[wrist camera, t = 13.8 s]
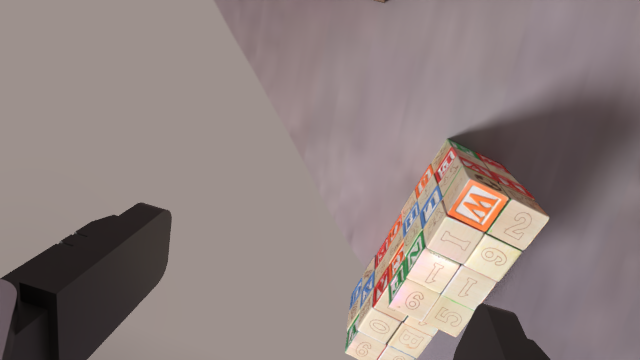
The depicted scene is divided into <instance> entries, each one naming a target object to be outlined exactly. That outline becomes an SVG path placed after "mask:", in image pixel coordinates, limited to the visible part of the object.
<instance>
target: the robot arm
mask: <svg viewBox="0 0 640 360" xmlns="http://www.w3.org/2000/svg"><path fill="white" fill-rule="evenodd" d="M171 218H172V217H171V213H170V211H168V210H165V209H162V208H158V207H155V206H152V205H148V204H145V203H138V204H136V205H134V206H133V207H132V208H130V209H128V210H127V211H125V212H124V213H122V214H121V215H119V216H116V215H112V216H108V217H105V218H102V219H99V220H95V221H92V222H90V223H89V224H87V225H86V226H84V227H82V228H81V229H79V230H77V231H76V232H75V233H74V235H70V236H68V237H66V238H65V239H63V240H61V241H60V243H59V244H55V245H53V246H52V247H50V248H49V249H47V250H45V251H44V252H42V253H41V254H39V255H37V256H36V257H34V258H33V259H31V260H29V261H28V262H26V263H25V264H23V265H21V266H20V267H18V268H17V269H15V270H13V271H12V272H10V273H9V274H7V275H5V276H4V277H2V278H0V360H87V359H88V358H89V357H90V356H91V355H92V354H93V352H94V351H95V350H96V349H97V348H98V347H99V346H100V345H101V344H102V343H103V342H104V340H106V339H107V337H108V336H109V335H110V334H111V333H112V332H113V331H114V330H115V329H116V328H117V327H118V326H119V325H120V324H121V322H123V320H124V319H125V318H126V317H127V316H128V315H129V314H130V313H131V312H132V311H133V310H134V309H135V308H136V307H137V305H138V304H139V303H140V302H141V301H142V300H143V299H144V298H145V297H146V296H147V295H148V294H149V293H150V291H151V290H152V289H153V288H154V287H155V286H156V285H157V284H158V283H159V281H160V279H161V278H162V276H163V274H164V272H165V269H166V266H167V262H168V252H169V242H170V231H171ZM453 360H550V359H549V357H548V356H547V355H546V354H545V353H544V352H543V351H542V350H541V348H540V347H539V346H538V345H537V344H536V343H535V342H534V341H533V340H530V339H527V337H526V335H525V333H524V331H523V329H522V326H521V324H520V322H519V320H518V318H517V316H516V314H515V313H513V312H510V311H507V310H504V309H500V308H497V307H493V306H490V305H486V304H483V303H481V304H479V305H478V306H477V307H476V309H475V311H474V313H473V315H472V317H471V319H470V321H469V323H468V325H467V327H466V329H465V332H464V334H463V336H462V338H461V340H460V342H459V344H458V346H457V348H456V351H455V354H454V358H453Z"/></svg>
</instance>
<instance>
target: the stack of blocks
mask: <svg viewBox="0 0 640 360" xmlns="http://www.w3.org/2000/svg"><path fill="white" fill-rule="evenodd" d="M548 220H549V216H548V215H547V214H546V213H545V212H544V211H543V210H542V208H541V207H540V206H539V205H538V204H537V203H536V202H535V198H534V197H533V196H532V195H531V194H530V193H529V192H528V191H527V189H525V188H524V187H523V186H522V185H521V184H520V183H519V182H518V181H517V180H516V179H515V178H514V177H513V176H512V175H511V174H510V173H509V172H508V170H507V169H506V168H505V167H504V166H503V165H501V164H499V163H497V162H495V161H493V160H491V159H489V158H487V157H485V156H483V155H481V154H479V153H476V152H473V151H471V150H469V149H467V148H465V147H463V146H461V145H459V144H457V143H455V142H453V141H451V140H449V139H446V141H445V142H444V144H443V146H442V147H441V149H440V151H439V152H438V154H437V155H436V157H435V159H434V160H433V162H432V163H431V164H430V165H429V167H428V168H427V170H426V172H425V173H424V175H423V177H422V178H421V180H420V181H419V183H418V185H417V186H416V188H415V190H414V191H413V193H412V194H411V196H410V197H409V199H408V201H407V202H406V204H405V206H404V207H403V209H402V211H401V215H400V216H399V218H398V219H397V221H396V223H395V224H394V226H393V228H392V229H391V231H390V232H389V235H388V237H387V238H386V240H385V242H384V243H383V245H382V247H381V248H380V250H379V252H378V253H377V255H376V256H374V258H373V259H372V261H371V263H370V264H369V266H368V268H367V269H366V271H365V272H364V274H363V277H362V278H361V280H360V281H359V283H358V285H357V286H356V288H355V290H354V291H353V293H352V296H351V303H350V311H349V316H348V323H347V331H348V333H347V340H346V347H345V353H346V354H348V355H350V356H353V357H355V358H357V359H359V360H415V359H416V358H418V357H419V355H420V354H421V353H422V351H423V350H424V349H425V347H426V346H427V345H428V343H429V342H430V341H431V339H432V337H433V336H434V335H435V334H436V333H437V331H438V330H439V329H440V330H442V331H444V332H446V333H447V334H449V335H451V336H453V337H457V336H458V335H459V333H460V332H461V331H462V329H463V328H464V327H465V325H466V324H467V323H468V321H469V320H470V319H471V317H472V315H473V313H474V311H475V309H476V307H477V306H478V305H479V304H481V303H482V302H483V301H484V299H485V298H486V297H487V295H488V294H489V293H490V292H491V290H492V289H493V288H494V286H495V285H496V283H497V282H499V281H500V280H501V279H502V277H503V276H504V275H505V274H506V272H507V271H508V270H509V269H510V267H511V266H512V265H513V263H514V262H515V261H516V260H517V258H518V257H519V256H520V254H521V253H522V250H525V249H526V248H527V247H528V245H529V244H530V243H531V242H532V241H533V239H534V238H535V237H536V236H537V234H538V233H539V232H540V231H541V229H542V228H543V227H544V226H545V224H546V223H547V222H548Z"/></svg>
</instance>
